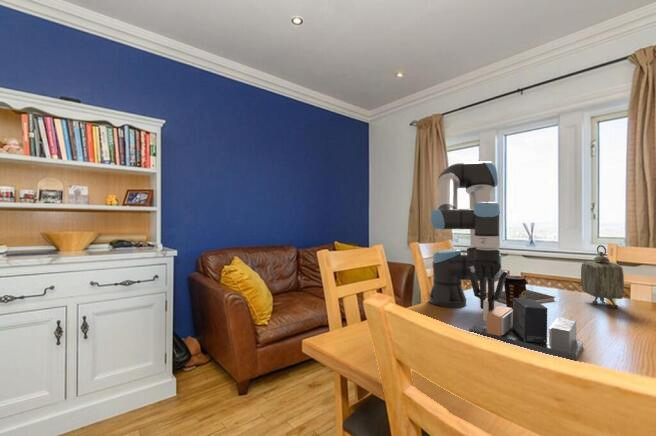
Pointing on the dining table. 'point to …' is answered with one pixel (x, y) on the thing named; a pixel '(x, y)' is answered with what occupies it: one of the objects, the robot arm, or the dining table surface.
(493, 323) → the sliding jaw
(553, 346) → the vise
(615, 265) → the tabletop clock
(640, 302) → the dining table surface
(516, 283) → the coffee cup
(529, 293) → the hardcover book
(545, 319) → the small box
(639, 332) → the dining table surface
